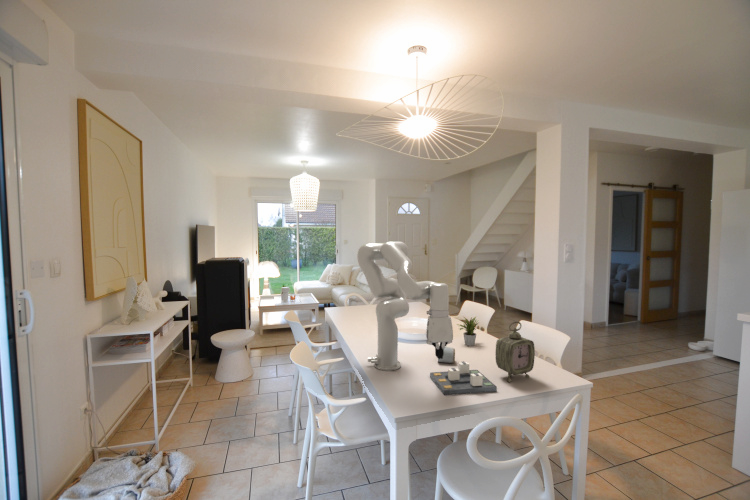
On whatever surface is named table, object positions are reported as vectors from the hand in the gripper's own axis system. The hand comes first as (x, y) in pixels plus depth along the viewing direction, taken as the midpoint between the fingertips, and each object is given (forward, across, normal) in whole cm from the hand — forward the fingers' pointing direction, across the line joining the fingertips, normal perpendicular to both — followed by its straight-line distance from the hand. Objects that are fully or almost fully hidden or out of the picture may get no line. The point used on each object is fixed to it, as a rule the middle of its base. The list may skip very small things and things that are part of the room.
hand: (439, 357), depth 136 cm
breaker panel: (+12, +10, +1) cm, 16 cm away
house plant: (+12, +36, +49) cm, 62 cm away
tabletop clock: (+13, +35, +3) cm, 37 cm away
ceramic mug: (+12, +13, +26) cm, 32 cm away
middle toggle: (+10, +6, +1) cm, 12 cm away
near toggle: (+10, +13, -5) cm, 17 cm away
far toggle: (+10, +13, +7) cm, 18 cm away
